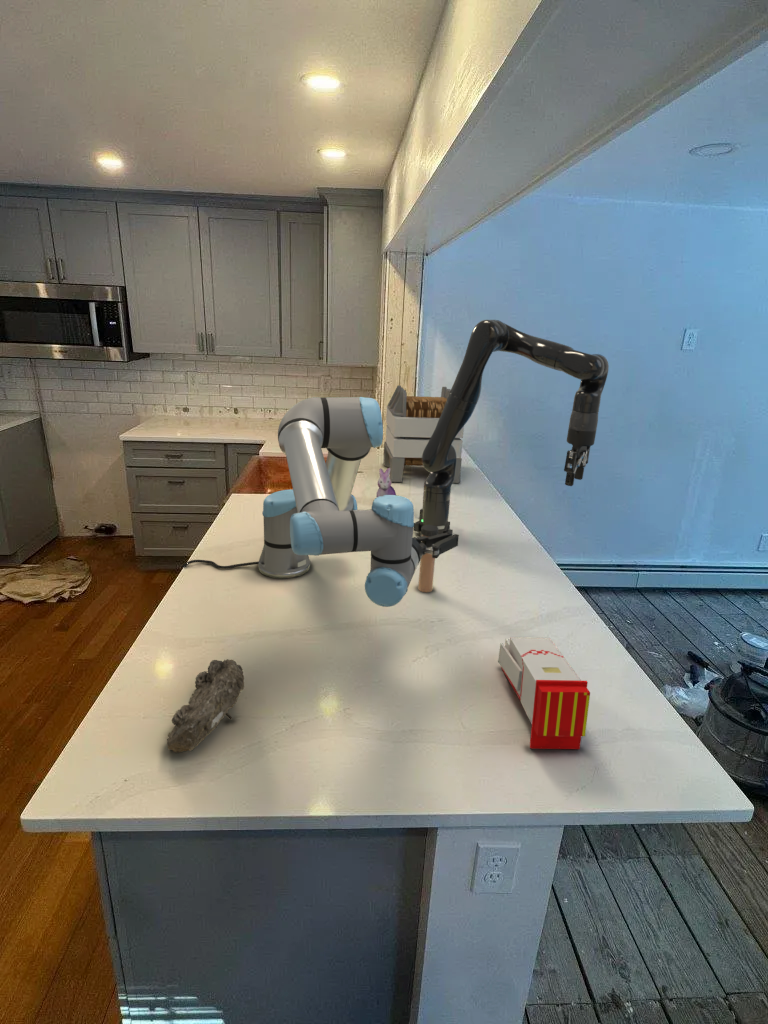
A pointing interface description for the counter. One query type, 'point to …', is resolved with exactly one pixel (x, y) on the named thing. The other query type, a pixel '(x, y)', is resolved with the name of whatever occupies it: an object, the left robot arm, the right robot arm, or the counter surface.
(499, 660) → the toy
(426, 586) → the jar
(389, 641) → the counter surface
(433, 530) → the lid
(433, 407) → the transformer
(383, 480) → the figurine
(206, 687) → the fossil
